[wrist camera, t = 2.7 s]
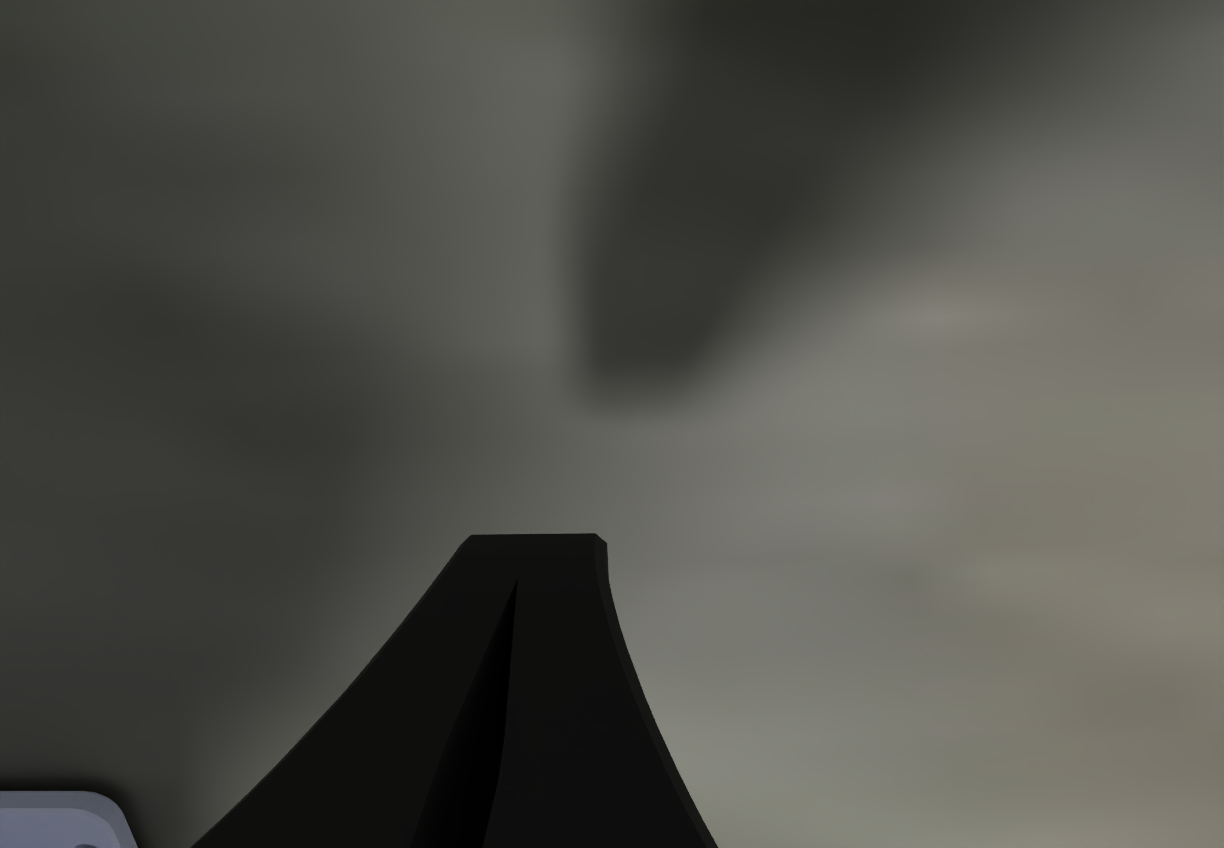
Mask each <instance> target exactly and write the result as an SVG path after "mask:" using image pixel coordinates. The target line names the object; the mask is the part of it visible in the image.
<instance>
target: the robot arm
mask: <svg viewBox="0 0 1224 848" xmlns="http://www.w3.org/2000/svg"><path fill="white" fill-rule="evenodd" d="M0 848H138V847H137V845H136V842H135V840H134V838H133V835H132V833H131V830H130V828H129V826H128V823H127V821H126V819H125V816H124V814H123V812H122V811H121V809H120V808H119V806H118V805H117V804H116V803H115V802H114V801H112V800H111V799H109V798H108V797H106V796H104V795H101V794H98V793H96V792H88V791H0ZM191 848H718V846H717V845H716V843H715V841H714V839H713V837H712V836H711V834H710V832H709V830H708V828H707V827H706V825H705V823H704V821H703V819H702V817H701V815H700V814H699V812H698V810H697V808H696V806H695V804H694V802H693V800H692V798H691V796H690V794H689V792H688V790H687V788H686V786H685V784H684V782H683V780H682V778H681V776H680V774H679V772H678V770H677V768H676V766H675V763H674V761H673V759H672V757H671V755H670V753H669V750H668V748H667V746H666V744H665V742H664V740H663V737H662V735H661V733H660V731H659V729H658V726H657V724H656V722H655V719H654V717H653V715H652V712H651V710H650V707H649V705H648V703H647V700H646V698H645V695H644V693H643V690H642V687H641V685H640V682H639V679H638V676H637V674H636V671H635V668H634V666H633V663H632V660H631V658H630V655H629V652H628V649H627V647H626V644H625V640H624V637H623V634H622V631H621V628H620V625H619V621H618V617H617V613H616V610H615V606H614V602H613V598H612V594H611V589H610V584H609V575H608V554H607V543H606V542H605V541H604V540H602V539H601V538H600V537H599V536H598V535H597V534H595V533H586V534H497V535H471V536H469V537H468V538H467V539H466V540H465V541H464V542H463V543H462V544H461V545H460V547H459V548H458V549H457V551H456V552H455V553H454V555H453V556H452V558H451V559H450V560H449V562H448V563H447V564H446V566H445V567H444V568H443V570H442V571H441V572H440V574H439V575H438V576H437V578H436V579H435V581H434V582H433V583H432V585H431V586H430V587H429V588H428V590H427V591H426V592H425V594H424V595H423V596H422V598H421V599H420V600H419V602H418V603H417V604H416V605H415V607H414V608H413V609H412V610H411V612H410V613H409V614H408V616H407V617H406V618H405V619H404V621H403V622H402V623H401V625H400V626H399V627H398V628H397V630H396V631H395V632H394V633H393V634H392V636H391V637H390V638H389V639H388V640H387V642H386V643H385V644H384V645H383V646H382V648H381V649H380V650H379V651H378V652H377V654H376V655H375V656H374V657H373V658H372V660H371V661H370V662H369V663H368V664H367V666H366V667H365V668H364V669H363V670H362V672H361V673H360V674H359V675H358V676H357V678H356V679H355V680H354V681H353V682H352V684H351V685H350V686H349V687H348V688H347V689H346V690H345V692H344V693H343V694H342V695H341V696H340V697H339V698H338V699H337V700H336V702H335V703H334V704H333V705H332V706H331V707H330V708H329V709H328V710H327V711H326V712H325V713H324V714H323V716H322V717H321V718H320V719H319V720H318V721H317V722H316V723H315V724H314V725H313V726H312V727H311V729H310V730H309V731H308V732H307V733H306V734H305V735H304V736H303V737H302V738H301V739H300V740H299V742H298V743H297V744H296V745H295V746H294V747H293V748H292V749H291V750H290V751H289V752H288V753H287V754H286V756H285V757H284V758H283V759H282V760H281V761H280V762H279V763H278V764H277V765H276V766H275V767H274V768H273V769H272V770H271V771H270V772H269V773H268V774H267V775H266V776H265V777H264V778H263V779H262V780H261V781H260V782H259V783H258V784H257V785H256V786H255V787H254V788H253V789H252V790H251V791H250V792H249V793H248V794H247V795H246V796H245V797H244V798H243V799H242V800H241V801H240V802H239V803H238V804H237V805H236V806H235V807H233V808H232V809H231V810H230V811H229V812H228V813H227V814H226V815H225V816H224V817H223V818H222V819H221V820H220V821H219V822H218V823H216V824H215V825H214V826H213V827H212V828H211V829H210V830H209V831H208V832H207V833H206V834H205V835H203V836H202V837H201V838H200V839H199V840H198V841H197V842H196V843H195V844H194V845H193V846H192V847H191Z"/></svg>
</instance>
